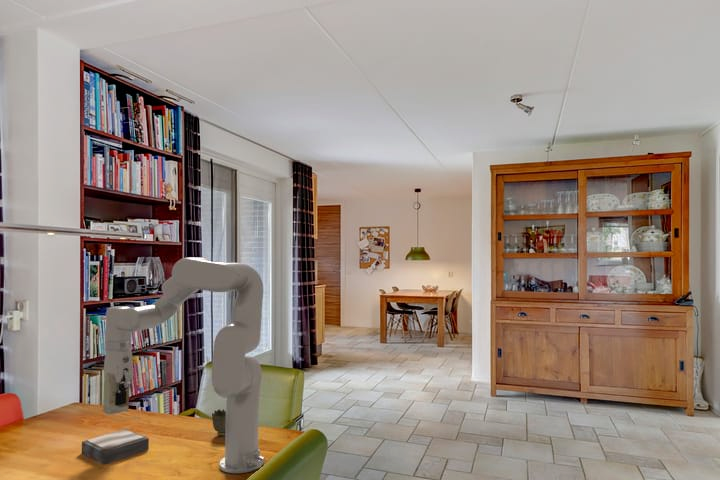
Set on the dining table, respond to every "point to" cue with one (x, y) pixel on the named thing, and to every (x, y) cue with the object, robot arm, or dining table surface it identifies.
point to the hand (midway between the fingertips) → (116, 402)
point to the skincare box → (113, 396)
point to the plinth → (115, 446)
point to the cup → (219, 422)
